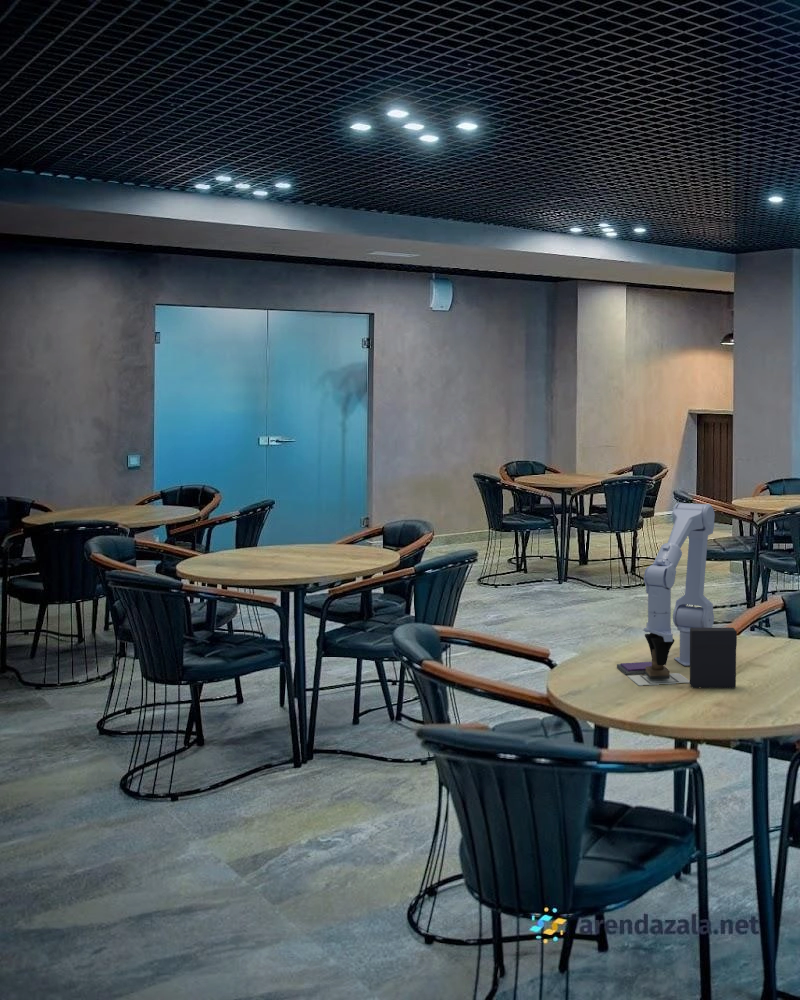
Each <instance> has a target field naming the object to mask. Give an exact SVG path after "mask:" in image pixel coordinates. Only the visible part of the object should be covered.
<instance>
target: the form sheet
mask: <svg viewBox="0 0 800 1000" xmlns="http://www.w3.org/2000/svg"><path fill="white" fill-rule="evenodd" d="M627 678H628V679H630V681H632V682H633V683H634V684H635V685H637V686H638V687H644V686H643V685H649V686H660V685H659V684H668V685H677V684H676V683H686V684H690V679H688V678H686V677H685V676H684V675H682V674H681V673H680V672H677V673H676V672H674V673H670V679H650V678H649V677H648V676H647V675H646V674H644V675H627Z"/></svg>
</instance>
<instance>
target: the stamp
mask: <svg viewBox="0 0 800 1000" xmlns="http://www.w3.org/2000/svg"><path fill="white" fill-rule="evenodd" d="M651 662H652V666H646V674H645V675H647V676H648V677H649V678H650V679H670V674H671V673H670V672H671V671H670V670H669V669H668V668H667V667H666V665H657V661H656V654H655V649H652V656H651Z"/></svg>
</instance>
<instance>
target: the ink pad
mask: <svg viewBox="0 0 800 1000" xmlns="http://www.w3.org/2000/svg"><path fill="white" fill-rule="evenodd" d="M646 666H652V661H642V662H623V663H617V664H616V669H618V670H619V671H620V672H621V673H622V674H623V675H625V676H633V675H642V674H644V675H646Z"/></svg>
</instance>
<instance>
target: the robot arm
mask: <svg viewBox="0 0 800 1000" xmlns="http://www.w3.org/2000/svg"><path fill="white" fill-rule="evenodd" d="M671 515H672V516H671V517H672V523H673V526H672V529H671V531H670V534H669V537H668V541H667V543H663V544H662V545H661V546H660V549H659V550H658V552H657V555H656V557H655V559H654V561H653V562H652V564H651V565H649V566H647V567H646V568H645V571H644V576H643V582H644V585H645V592H646V594H647V622H646V627H643V632H644V637H645V639H646V641H647V643H648V647H649V651H650V655H651V657H652V649H655V654H656V661H657V665H664V666H666V665H667V662H668V657H669V654H670V651H671V649H672V646H673V645H674V642H675V639H674V638H673V632H672V628H671V627H672V626H671V625H672V623H673V625H674V626H675V628H677V631H678V632H679V656H678V657H674V660H675V661H676V662H677V663H679V664H680V665H682V666H684V667H690V628H713V626H714V622H715V620H714V619H715V616H714V615H715V614H714V604H713V603H712V602H711V601H710V599H708V598H707V597H706V596H705V595H704V594H705V593H704V592H705V578H706V564H707V551H708V542H709V541H708V539H709V536H710V535H712V534H714V529H715V518H716V515H715V510H714V507H713V506H712V505H711V504H710V503H690V502H688V503H687V502H685V503H684V502H676V503H675V504H674V505H673V508H672V513H671ZM687 538H688V549H687V559H686V560H687V562H686V573H685V574H686V575H685V587H684V588H685V589H684V595H682V596H681V597H679V598H678V599H677V600H676V601H675V605H674V609H673V614H672V615H671V612H672V611H671V610H672V608H671V605H672V604H671V603H672V601H671V600H672V599H671V598H672V594H671V593H672V588H673V586H674V584H675V581H676V575H677V567H678V566H679V562H680V560H681V558H682V556H683V552H682V549H681V548H682V547H683V545H684V543H685V541H686V540H687ZM688 605H689V606H688ZM671 616H672V618H671ZM671 621H672V623H671Z"/></svg>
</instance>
